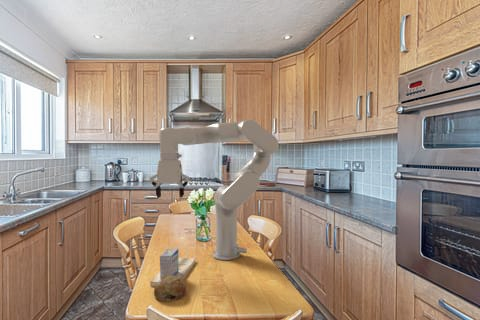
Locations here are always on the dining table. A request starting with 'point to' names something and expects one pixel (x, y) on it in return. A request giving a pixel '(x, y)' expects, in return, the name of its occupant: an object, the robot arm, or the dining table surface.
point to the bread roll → (170, 288)
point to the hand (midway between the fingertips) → (170, 197)
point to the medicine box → (169, 263)
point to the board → (184, 268)
